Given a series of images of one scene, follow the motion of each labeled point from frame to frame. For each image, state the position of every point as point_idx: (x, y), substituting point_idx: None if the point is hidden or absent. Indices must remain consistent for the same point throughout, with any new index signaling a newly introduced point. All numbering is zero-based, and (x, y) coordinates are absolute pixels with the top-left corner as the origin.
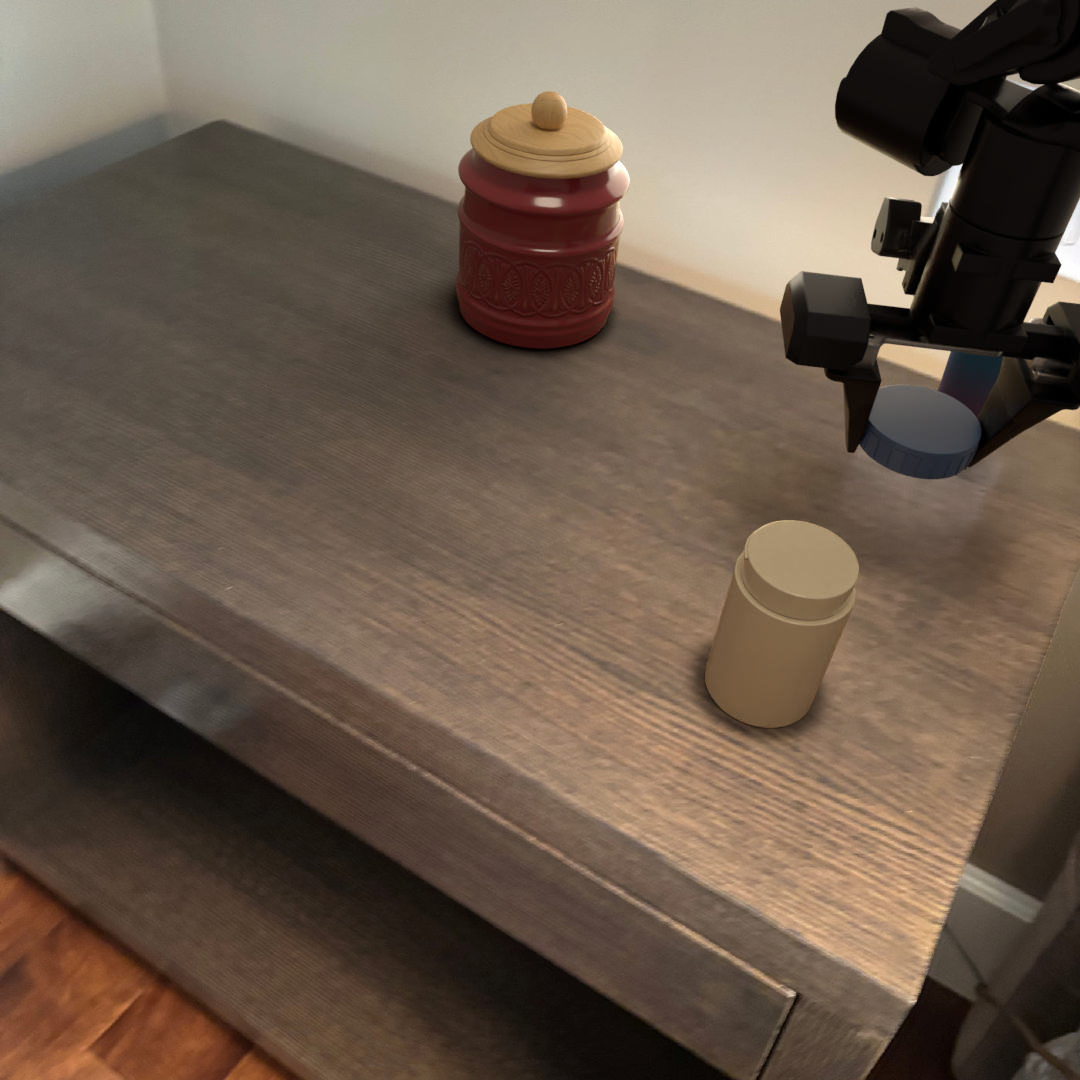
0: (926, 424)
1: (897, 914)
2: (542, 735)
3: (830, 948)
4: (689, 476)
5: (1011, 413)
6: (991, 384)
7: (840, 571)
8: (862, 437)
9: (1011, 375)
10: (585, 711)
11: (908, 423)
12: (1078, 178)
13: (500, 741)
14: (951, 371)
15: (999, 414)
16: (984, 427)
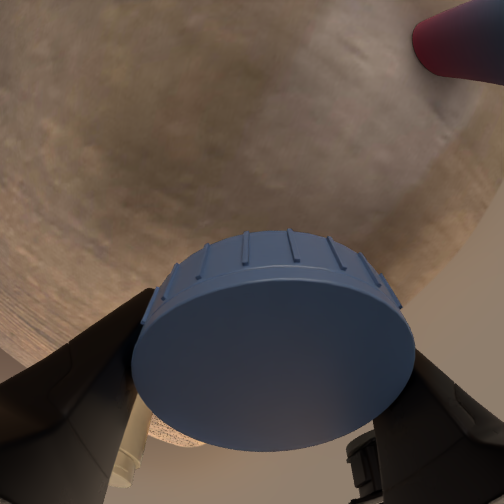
0: (273, 413)
1: (193, 439)
2: (30, 359)
3: (163, 440)
4: (61, 108)
5: (389, 495)
6: None
7: (117, 482)
8: None
9: (453, 493)
10: (40, 353)
11: (231, 409)
12: None
13: (17, 357)
14: (491, 26)
15: (399, 460)
16: (394, 408)
